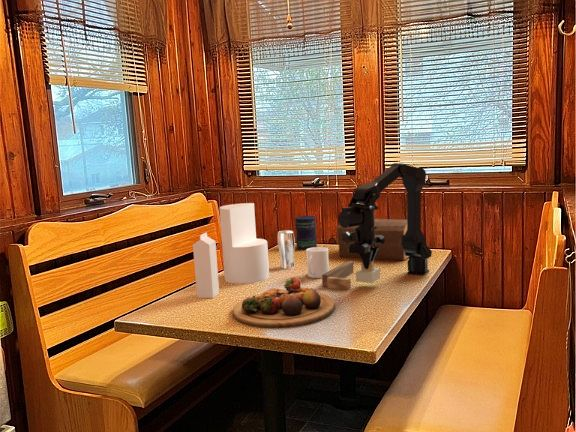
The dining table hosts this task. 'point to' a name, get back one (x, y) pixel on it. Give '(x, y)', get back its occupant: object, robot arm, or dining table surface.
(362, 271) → the square base with post
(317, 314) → the wooden plate with food
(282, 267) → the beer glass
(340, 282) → the cleat board
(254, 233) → the stepped white drum
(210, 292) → the milk
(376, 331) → the dining table surface
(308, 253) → the mug
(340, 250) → the wooden bread box
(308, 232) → the storage jar
